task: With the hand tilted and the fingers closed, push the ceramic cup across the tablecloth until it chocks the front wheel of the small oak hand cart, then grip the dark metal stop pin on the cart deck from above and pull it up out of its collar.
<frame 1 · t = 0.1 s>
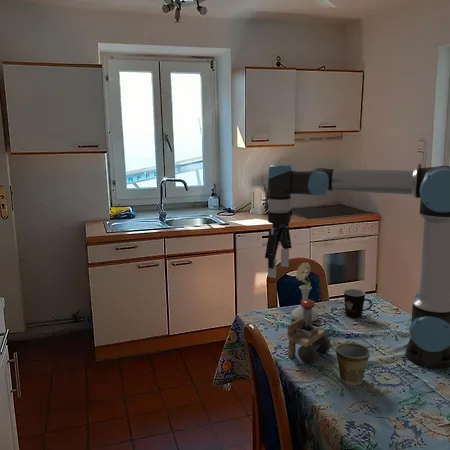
hand: (278, 271, 159), 28 cm above the table, tool pointing down, fingers open, 13 cm apart
flower in vase: (304, 320, 187), on the table
cart: (309, 355, 158), on the table
coffee mug: (355, 317, 190), on the table
ceramic cup: (351, 378, 143), on the table
stop pin: (307, 317, 156), point 13 cm above the table, slide at 0.0 cm
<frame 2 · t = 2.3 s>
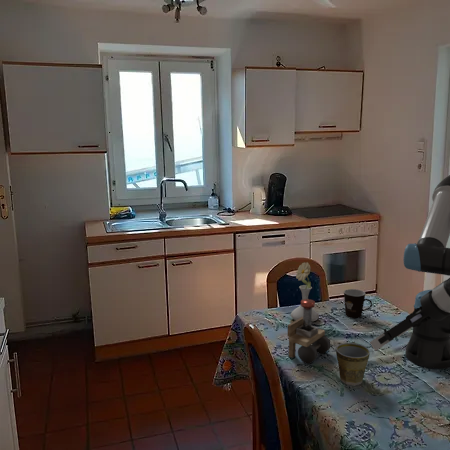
hand: (384, 339, 133), 16 cm above the table, tool tilted 45°, fingers open, 13 cm apart
nothing on the table moved.
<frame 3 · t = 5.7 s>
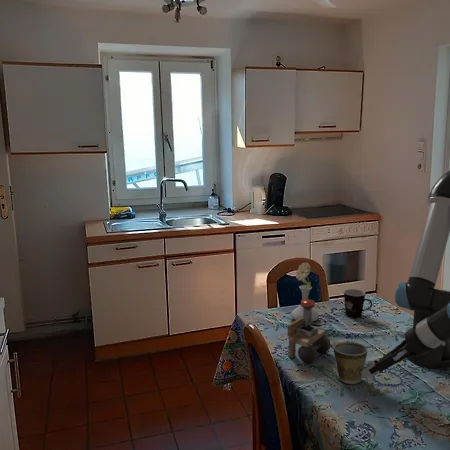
hand: (364, 374, 139), 3 cm above the table, tool tilted 45°, fingers closed
ceramic cup: (350, 377, 143), on the table, touching gripper
everything else where it was.
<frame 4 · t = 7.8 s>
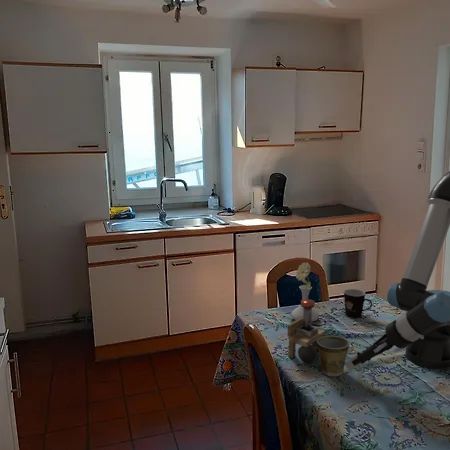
hand: (348, 366, 143), 3 cm above the table, tool tilted 45°, fingers closed
ceramic cup: (333, 369, 148), on the table, touching gripper
everything else where it was.
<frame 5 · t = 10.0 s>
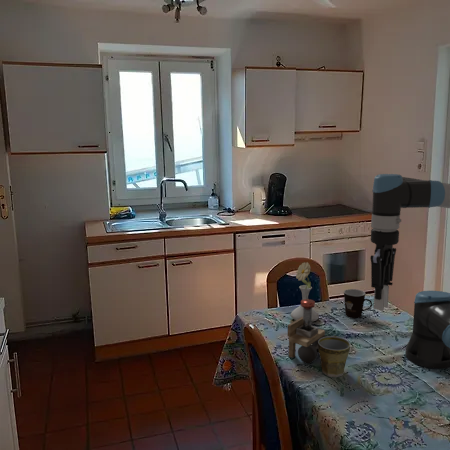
hand: (380, 307, 135), 24 cm above the table, tool pointing down, fingers open, 2 cm apart
ceramic cup: (333, 370, 148), on the table
everything else where it was.
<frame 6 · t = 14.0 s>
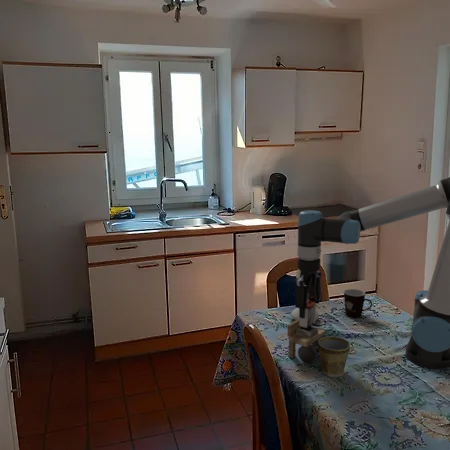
hand: (307, 323, 156), 11 cm above the table, tool pointing down, fingers closed on stop pin, 5 cm apart
stop pin: (307, 317, 156), point 13 cm above the table, slide at 0.0 cm, touching gripper
everything else where it was.
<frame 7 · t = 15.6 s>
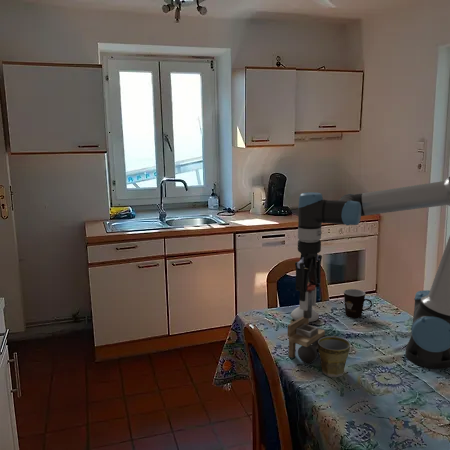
hand: (307, 307, 155), 17 cm above the table, tool pointing down, fingers closed on stop pin, 5 cm apart
stop pin: (307, 300, 155), point 19 cm above the table, slide at 6.0 cm, touching gripper
everything else where it was.
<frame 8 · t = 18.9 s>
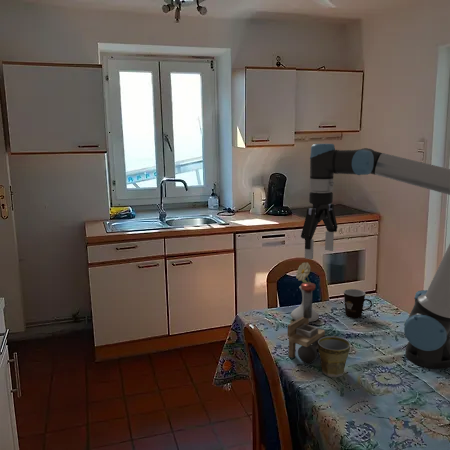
hand: (319, 254, 155), 35 cm above the table, tool pointing down, fingers open, 13 cm apart
stop pin: (307, 300, 155), point 19 cm above the table, slide at 6.0 cm
everything else where it was.
at the end: ceramic cup 1.1 cm from the target spot, on the table; ceramic cup tilted 0°; stop pin slide at 6.0 cm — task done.
